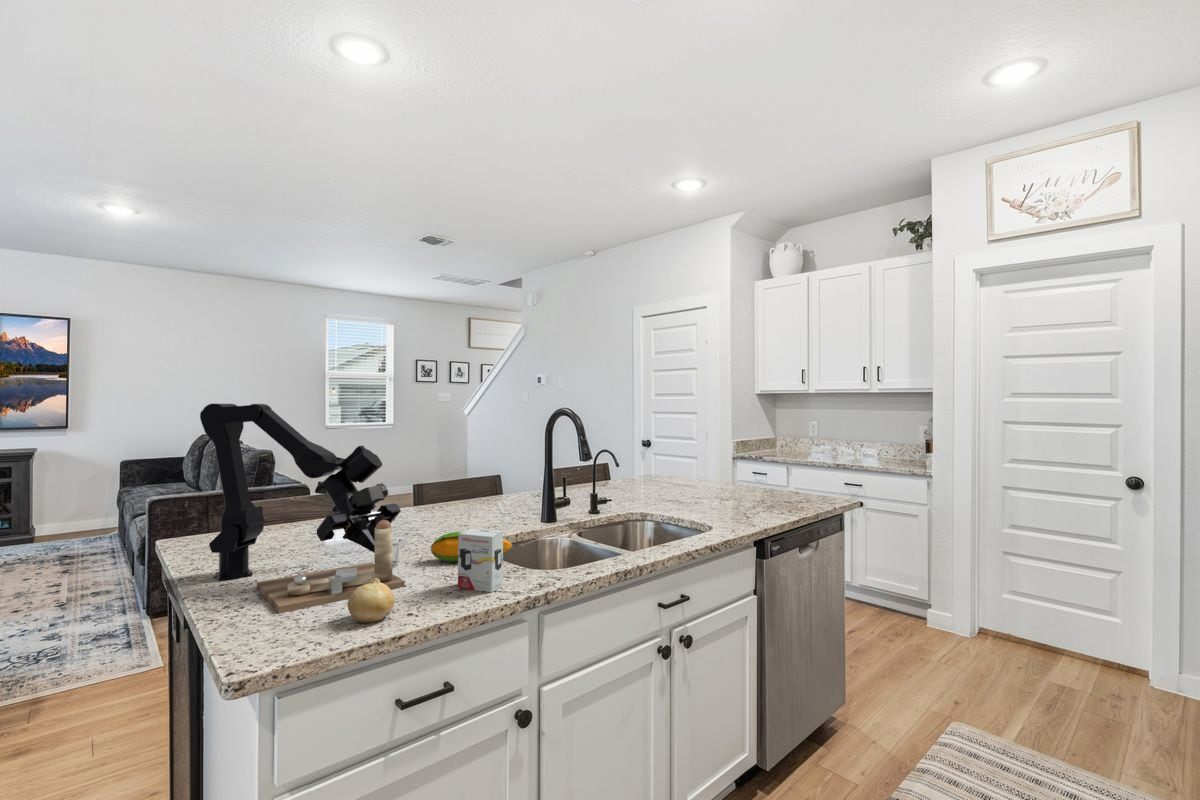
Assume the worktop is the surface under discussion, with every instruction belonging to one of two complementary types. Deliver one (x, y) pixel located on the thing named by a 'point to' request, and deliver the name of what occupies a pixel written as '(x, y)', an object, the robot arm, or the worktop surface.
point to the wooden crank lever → (381, 572)
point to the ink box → (480, 560)
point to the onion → (371, 601)
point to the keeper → (335, 579)
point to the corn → (453, 547)
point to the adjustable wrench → (397, 551)
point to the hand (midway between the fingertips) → (379, 551)
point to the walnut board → (283, 602)
